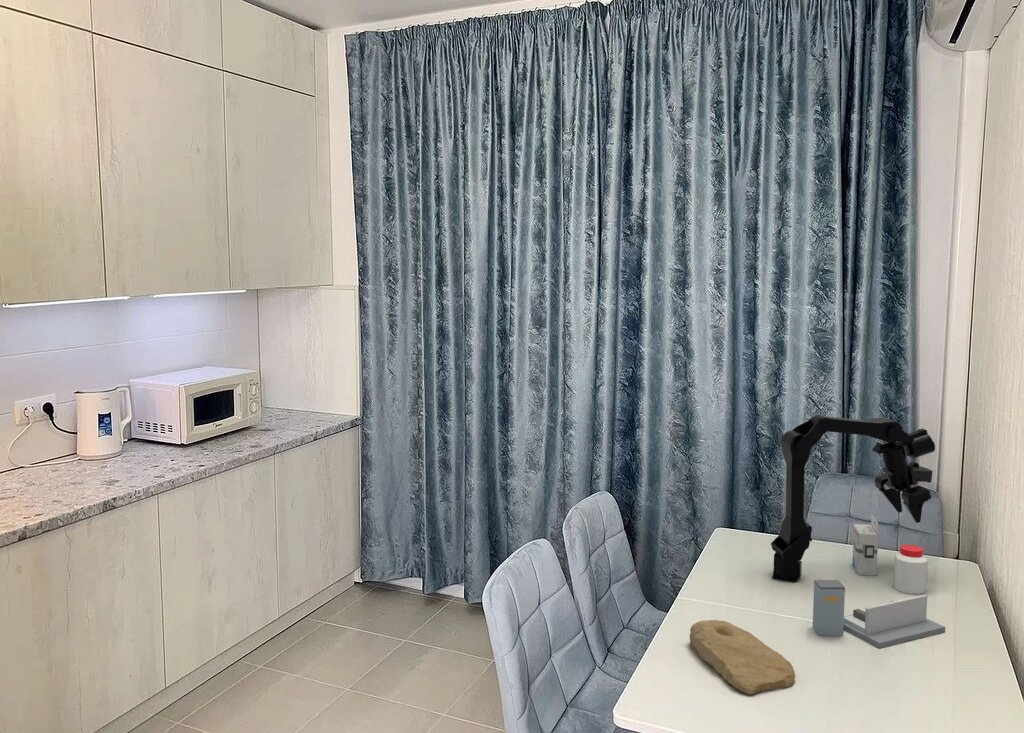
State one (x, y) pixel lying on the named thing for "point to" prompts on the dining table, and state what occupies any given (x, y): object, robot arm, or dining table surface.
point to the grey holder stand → (892, 622)
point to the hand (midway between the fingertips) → (908, 517)
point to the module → (828, 607)
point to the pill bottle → (910, 570)
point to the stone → (740, 657)
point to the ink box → (865, 548)
